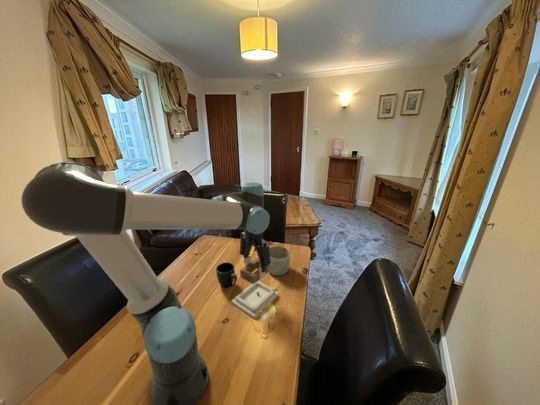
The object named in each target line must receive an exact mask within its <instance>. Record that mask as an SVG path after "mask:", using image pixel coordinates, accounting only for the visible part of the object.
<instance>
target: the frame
mask: <svg viewBox="0 0 540 405" xmlns="http://www.w3.org/2000/svg"><path fill="white" fill-rule="evenodd" d="M259 265H260V261H259V258H255V259H254V260H251V263H250V264H248V265H247V266H244V267H242V268H241V269H240V270H239V272H240V273H239V274H240V278H241V279H243V280H245V281H247V282H248V283H250V284H254V283H256V282H257V281H260V279H259ZM268 273H270V272H269V265H268V266H266V271H265V276H266V275H267V274H268Z"/></svg>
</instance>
